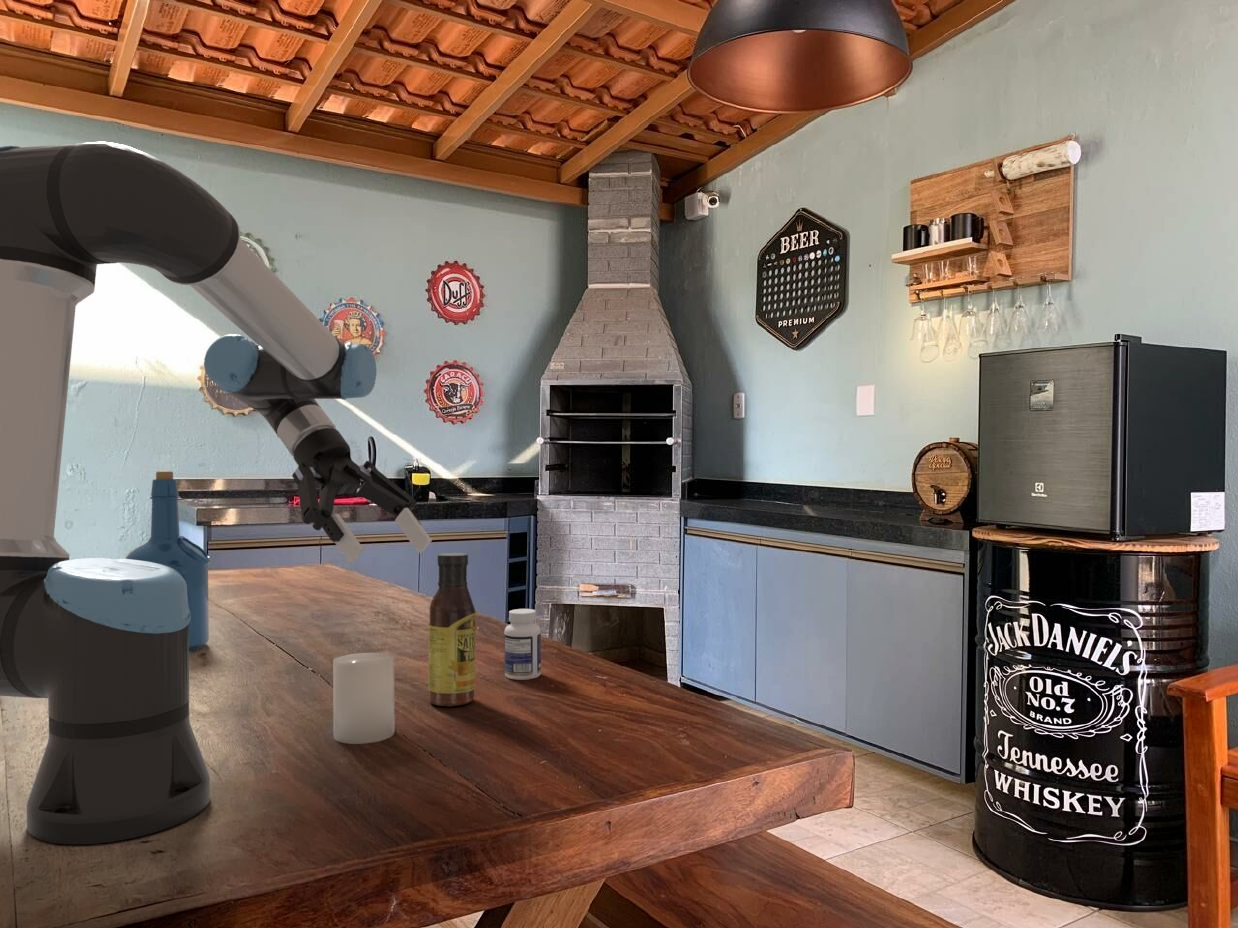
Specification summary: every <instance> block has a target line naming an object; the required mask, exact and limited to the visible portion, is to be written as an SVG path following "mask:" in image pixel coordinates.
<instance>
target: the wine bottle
mask: <svg viewBox="0 0 1238 928" xmlns="http://www.w3.org/2000/svg"><path fill="white" fill-rule="evenodd" d="M150 491H151V493H150V497H149V499H150V500H151V516H150V519H151V520H150V537H149V539H148V540H147V541H146V542H145V543H143V544H141V545H140V546H137V547H136V548H134V549H133V550H130V551H129V552H128V553H127V554H126V556H125V557H124V559H132V560H140V561H147V562H153V563H158V564H162V565H165V566H168V567H170V568H173V569H174V570H176V571H177V572H179V574H180V575H181V576H182V577H183V579H184V580H185V582H186V585H187V597H188V607H189V610H190V613H191V620H190V623H189V653H190V652H193V651H196V650H199V649H201V648H203V647H205V646H207V644H208V641H209V638H210V637H209V634H210V633H209V629H210V628H209V626H210V625H209V624H210V623H209V621H210V620H209V619H210V618H209V566H208V565H209V564H210V563H211V560H212V559H211V557H210V556H209V554H208V553H207V552H206V551H205V550H204V549H203V548H202V547H201V546H199V545H198V544H195V543H194V542H192V541H191V540H190V539H188V538H186V537H185V536H183V535H180V523H179V522H180V521H179V519H180V518H179V516H180V515H179V500H178V499H180V496H179V488H178V480H177V479H176V478H174V472H173V471H172V470H158V471H156V472H155V478H154V479H152V483H151V489H150Z"/></svg>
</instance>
